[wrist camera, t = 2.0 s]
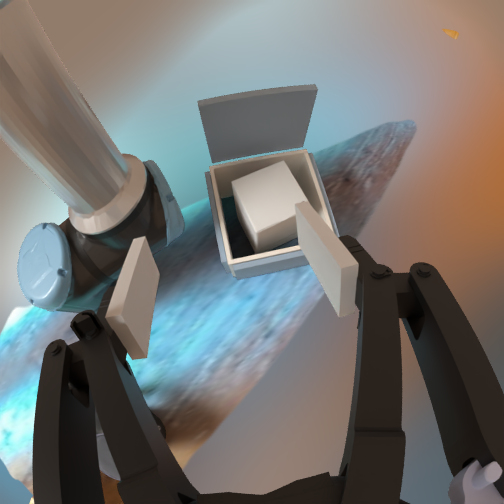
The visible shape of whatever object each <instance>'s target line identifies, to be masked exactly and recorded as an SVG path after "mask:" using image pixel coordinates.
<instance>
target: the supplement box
mask: <svg viewBox="0 0 504 504" xmlns="http://www.w3.org/2000/svg"><path fill="white" fill-rule="evenodd" d="M232 189H233V195H234V200H235V206H236V212H237V218H238V220H239V222H240V224H241V226H242V228H243V230H244V232H245V234H246V236H247V238H248V240H249V242H250V244H251V246H252V248H253V250H254V252H255V254H260V253H265V252H267V251H269V250H271V249H273V248H275V247H278V246H280V245H282V244H284V243H286V242H288V241H290V240H292V239H295V238H297V237H298V233H297V222H296V212H295V203H300V202H306V201H308V199H307V198H306V196H305V194H304V193H303V191H302V189H301V188H300V186H299V184H298V183H297V181H296V179H295V178H294V176H293V174H292V173H291V171H290V169H289V168H288V166H287V165H286V163H285V161H284V160H283V161H280V162H278V163H275V164H273V165H270V166H268V167H265V168H263V169H260V170H258V171H255V172H253V173H251V174H248V175H246V176H244V177H241V178H239V179H237V180H234V181H232ZM308 203H309V201H308ZM309 204H310V203H309ZM310 205H311V204H310Z"/></svg>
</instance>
